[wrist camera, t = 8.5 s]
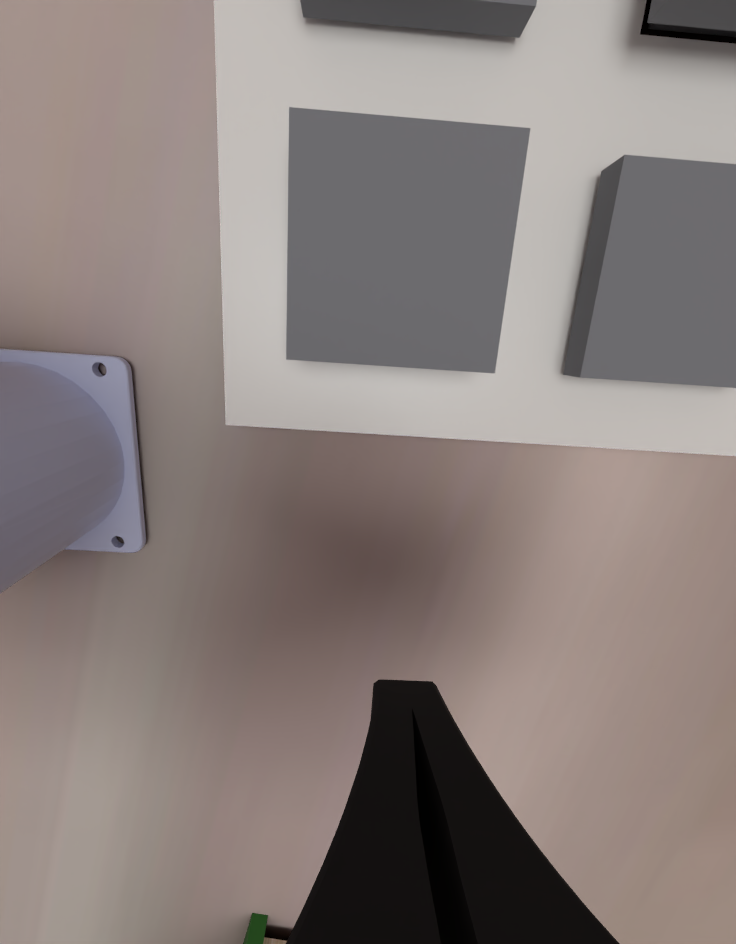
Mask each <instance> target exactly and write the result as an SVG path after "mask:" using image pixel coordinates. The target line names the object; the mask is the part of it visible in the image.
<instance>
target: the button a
mask: <svg viewBox="0 0 736 944" xmlns="http://www.w3.org/2000/svg"><path fill="white" fill-rule="evenodd" d="M529 135H530V128H524V127H512V126H501V125H489V124H478V123H466V122H455V121H443V120H432V119H420V118H409V117H398V116H386V115H375V114H363V113H352V112H340V111H329V110H317V109H306V108H294V107H289V158H288V242H287V327H286V360H300V361H315V362H330V363H345V364H360V365H375V366H390V367H405V368H420V369H435V370H450V371H465V372H480V373H495V369H496V362H497V355H498V348H499V341H500V335H501V328H502V321H503V314H504V307H505V300H506V293H507V286H508V280H509V273H510V266H511V259H512V252H513V245H514V238H515V231H516V225H517V218H518V211H519V204H520V197H521V190H522V183H523V177H524V170H525V163H526V156H527V149H528V142H529Z"/></svg>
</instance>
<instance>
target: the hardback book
mask: <svg viewBox="0 0 736 944" xmlns="http://www.w3.org/2000/svg"><path fill="white" fill-rule="evenodd" d="M267 917H268V915H262V914H256V913H252V916H251V919H250V923H249V926H248V929H247V932H246V936H245V939H244V942H243V944H286V942H287V941H285V940H278V939H272V938H266V937H264V936H265V930H266V923H267Z"/></svg>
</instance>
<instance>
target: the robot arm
mask: <svg viewBox="0 0 736 944" xmlns="http://www.w3.org/2000/svg"><path fill="white" fill-rule="evenodd" d="M100 363H102V364H104V365H105V367H106V370H107V371H106V374H105V375H102V374H101V373H100V372H99V370H98V366H99V364H100ZM116 536H119V537H121V538H122V539H123V540H124V544H123V543H120V542H119V541H118V540H117V538H116ZM145 544H146V532H145V521H144V509H143V498H142V486H141V474H140V463H139V451H138V440H137V428H136V417H135V405H134V394H133V382H132V371H131V367H130V365H129V363H128V362H127V361H126V360H125V359H123V358H122V357H118V356H106V355H91V354H75V353H60V352H45V351H30V350H15V349H0V594H1V593H2V592H3V591H5V590H6V589H8V588H9V587H11V586H12V585H13V584H15V583H16V582H18V581H19V580H21V579H22V578H23V577H25V576H26V575H28V574H29V573H31V572H32V571H33V570H35V569H36V568H38V567H39V566H41V565H42V564H43V563H45V562H46V561H48V560H49V559H50V558H52V557H53V556H55V555H56V554H58V553H59V552H60V551H62V550H63V549H65V550H85V551H105V552H125V553H134V552H138V551H139V550H141V549H142V548H143V547H144V545H145ZM286 944H619V943H618V942H617V941H616V939H615V938H614V937H613V936H612V935H611V934H610V933H609V932H608V931H607V929H606V928H605V927H604V926H603V925H602V924H601V923H600V922H599V921H598V919H597V918H596V917H595V916H594V915H593V914H592V913H591V912H590V910H589V909H588V908H587V907H586V906H585V905H584V903H583V902H582V901H581V900H580V899H579V897H578V896H577V895H576V894H575V893H574V891H573V890H572V889H571V888H570V887H569V885H568V884H567V883H566V882H565V880H564V879H563V878H562V877H561V876H560V874H559V873H558V872H557V871H556V869H555V868H554V867H553V866H552V864H551V863H550V862H549V860H548V859H547V858H546V857H545V855H544V854H543V853H542V852H541V850H540V849H539V848H538V846H537V845H536V844H535V842H534V841H533V840H532V838H531V837H530V836H529V834H528V833H527V832H526V830H525V829H524V828H523V826H522V825H521V824H520V822H519V821H518V819H517V818H516V817H515V815H514V814H513V812H512V811H511V809H510V808H509V807H508V805H507V804H506V802H505V801H504V799H503V798H502V797H501V795H500V794H499V792H498V791H497V789H496V788H495V786H494V785H493V783H492V782H491V780H490V779H489V777H488V776H487V774H486V772H485V771H484V769H483V768H482V766H481V764H480V763H479V761H478V760H477V758H476V756H475V755H474V753H473V752H472V750H471V748H470V747H469V745H468V743H467V742H466V740H465V738H464V737H463V735H462V733H461V731H460V730H459V728H458V726H457V724H456V723H455V721H454V719H453V717H452V715H451V714H450V712H449V710H448V708H447V706H446V704H445V702H444V700H443V698H442V696H441V694H440V692H439V690H438V688H437V686H436V685H435V684H434V683H433V682H429V681H403V680H378V681H376V682H375V683H374V686H373V698H372V710H371V721H370V726H369V730H368V735H367V738H366V742H365V746H364V750H363V754H362V757H361V761H360V765H359V768H358V771H357V774H356V777H355V780H354V783H353V786H352V789H351V792H350V795H349V798H348V801H347V804H346V807H345V810H344V812H343V815H342V818H341V820H340V823H339V826H338V828H337V831H336V833H335V836H334V838H333V841H332V843H331V846H330V848H329V850H328V853H327V855H326V858H325V860H324V863H323V865H322V867H321V869H320V872H319V874H318V876H317V878H316V881H315V883H314V885H313V887H312V890H311V892H310V894H309V896H308V898H307V901H306V903H305V905H304V907H303V909H302V911H301V914H300V916H299V918H298V920H297V922H296V924H295V926H294V928H293V930H292V932H291V934H290V936H289V938H288V940H287V942H286Z"/></svg>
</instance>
